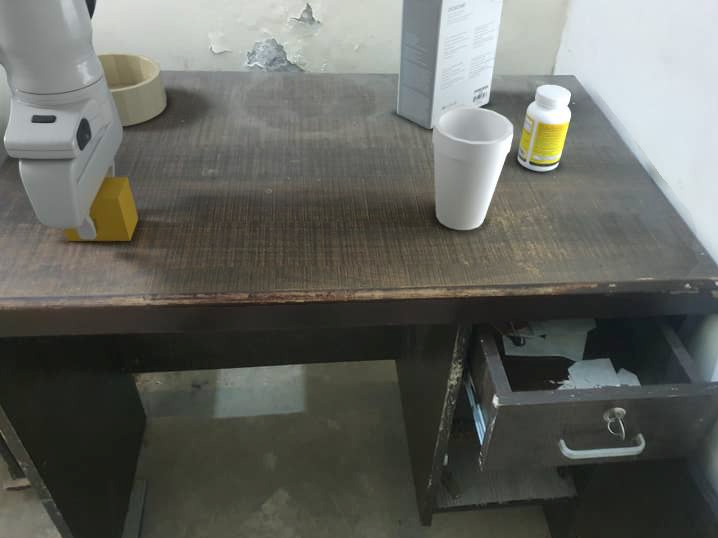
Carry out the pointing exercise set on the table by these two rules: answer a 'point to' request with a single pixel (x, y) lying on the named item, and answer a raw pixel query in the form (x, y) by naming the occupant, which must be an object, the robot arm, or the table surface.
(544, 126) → the pill bottle
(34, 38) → the robot arm
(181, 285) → the table surface
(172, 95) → the table surface
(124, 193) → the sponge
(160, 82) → the bowl
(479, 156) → the foam cup
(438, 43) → the hard drive box
